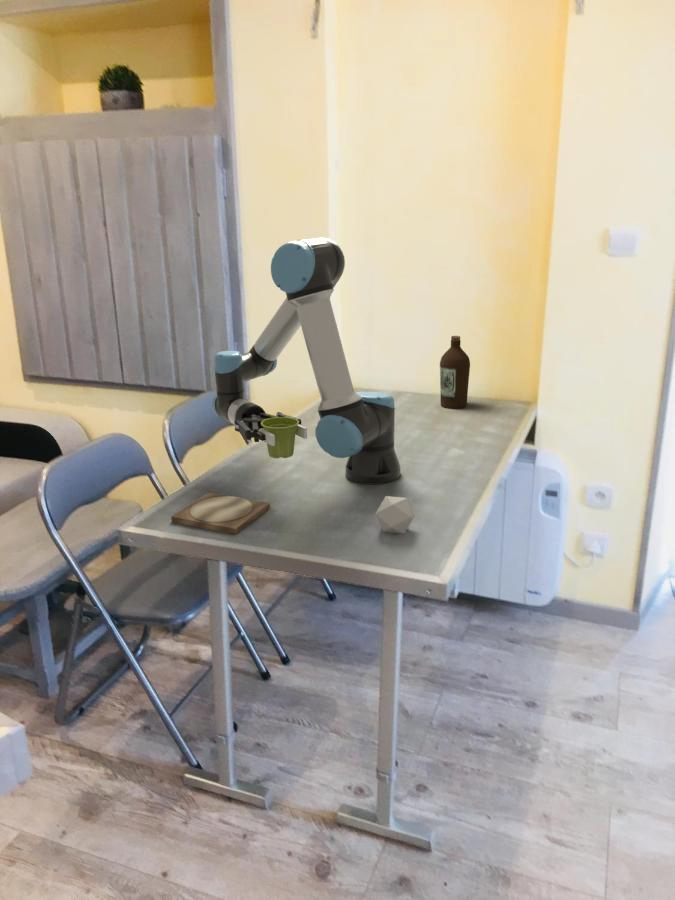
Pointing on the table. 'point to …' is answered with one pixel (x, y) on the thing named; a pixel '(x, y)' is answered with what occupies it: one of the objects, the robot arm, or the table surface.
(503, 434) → the table surface
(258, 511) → the walnut board
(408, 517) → the die
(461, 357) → the olive oil
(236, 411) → the robot arm
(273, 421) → the plant pot
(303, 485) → the table surface
